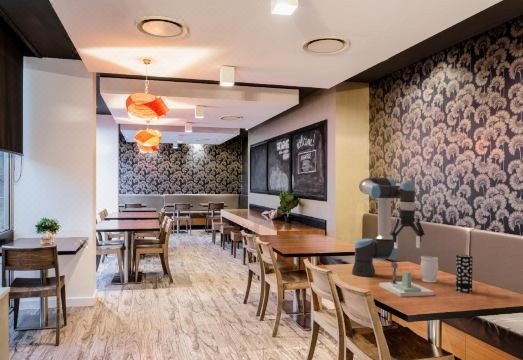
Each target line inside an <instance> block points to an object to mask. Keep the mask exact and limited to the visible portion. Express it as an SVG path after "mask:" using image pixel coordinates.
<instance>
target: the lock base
mask: <svg viewBox="0 0 523 360" xmlns="http://www.w3.org/2000/svg"><path fill="white" fill-rule="evenodd" d="M393 284H402V281H396V283H393V281H392V282H391V281H390V282H378V287H380V288H382V289H384V290H386V291H388V292H390V293H392V294H394V295H396V296H398V297H423V296H424V297H425V296H434V295H435V294H434V293H435V292H434V290H431V289H428V288H426V287H423V286H421V285H419V284H416V283H414V282H412V281H411V285H413V286H416V287H418V288H421V292H403V291H401V290H399V289H396V288H394V287H393Z"/></svg>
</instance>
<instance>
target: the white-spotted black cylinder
mask: <svg viewBox="0 0 523 360" xmlns="http://www.w3.org/2000/svg"><path fill="white" fill-rule="evenodd" d="M455 256H456V257H455V261H456V263H455V267H456V268H455V291H456V292H458V293H463V294H471V293H473V265H474V264H473V261H474V260H473V259H474V258H473V255H468V254H456V255H455Z"/></svg>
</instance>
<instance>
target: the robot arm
mask: <svg viewBox="0 0 523 360" xmlns="http://www.w3.org/2000/svg"><path fill="white" fill-rule="evenodd" d="M358 188H359V190H360V192H361V193H362V194H364V195H369V198H371V199H376V200H377V236H376V237H375V240H374V239H373V238H361V239H357V240H356V241H355V242H354V263H353V266H352V269H351V274H352V275H354V276H357V277H374V276H376V269H375V267H374V264H373V263H374V261H373V260H375V259H379V260H384V259H385V260H391V259H392V260H393V259H395V257H396V255H397V250H398V249H399V236H398V235H399V234H400V232H401V231H402V230H403V228H405V227H407V228H408V227H410V228H412V230H413V231H414V232H415V234H416V236H415V248H417V249H421V242H422V237H423V236H425V232H424V229H423V226H422V225H421V221H420V218H419V217H418V218H415V216H416V214H415V213H416V212H415V207H416V201H415V200H416V199H415V197H416V185H415V182H413V181H412V182H411V181H410V182H409V181H408V182H407V181H402V182H400V185H397V184H396V181H395V179H394V178H391V177H367V178H364V179H363V180H361V181H360V182H359V187H358ZM393 199H397V200H398V199H400V207H399V209H400V214H399V215H400V218H394V223H393V224H392V200H393Z"/></svg>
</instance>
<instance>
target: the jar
mask: <svg viewBox="0 0 523 360" xmlns="http://www.w3.org/2000/svg"><path fill="white" fill-rule="evenodd" d="M420 259H421V260H420V266H419V267H420V275H421V277H422V279H421V281H422V282H425V283H432V284H434V283H437V280H436V279H437V278H438V272H439V262H438V261H439V257H437V256H432V255H431V256H430V255H421V256H420Z"/></svg>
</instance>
